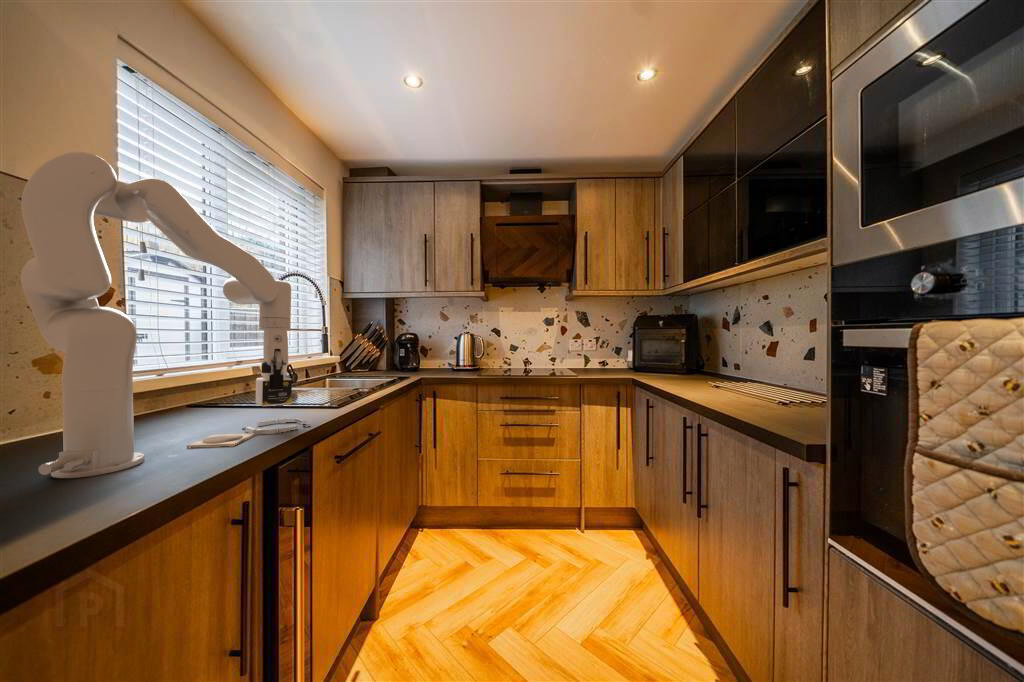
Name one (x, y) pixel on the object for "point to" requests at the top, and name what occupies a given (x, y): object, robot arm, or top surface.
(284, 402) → the medicine bottle
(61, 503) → the top surface
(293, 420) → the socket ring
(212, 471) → the top surface
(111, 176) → the robot arm
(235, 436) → the cork pad
